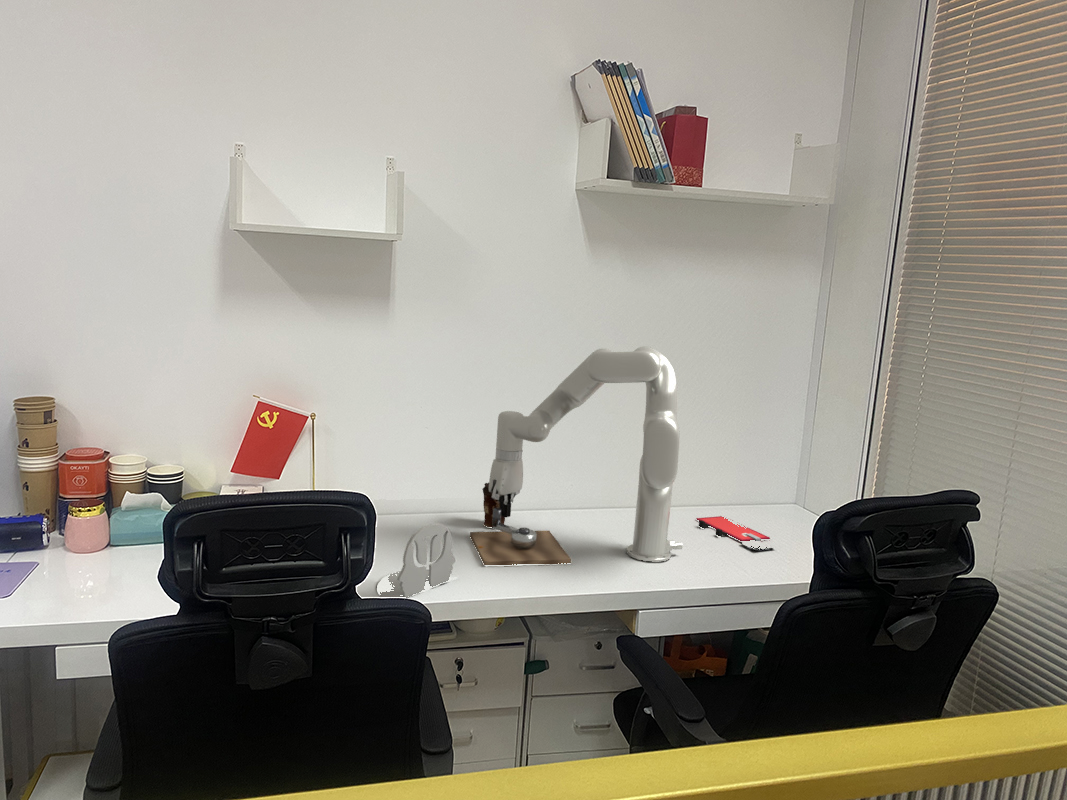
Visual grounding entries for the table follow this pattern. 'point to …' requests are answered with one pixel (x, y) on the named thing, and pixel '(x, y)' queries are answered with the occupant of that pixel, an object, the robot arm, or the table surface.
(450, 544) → the ornament
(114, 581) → the table surface
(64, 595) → the table surface
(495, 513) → the grey crank handle
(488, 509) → the coffee cup
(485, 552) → the board
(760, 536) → the red board with handle
